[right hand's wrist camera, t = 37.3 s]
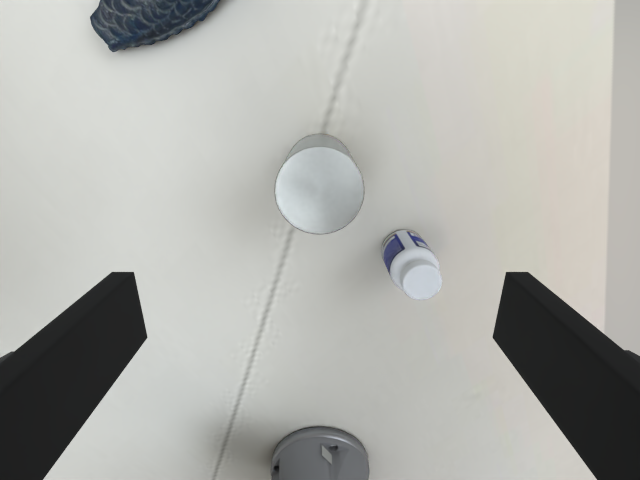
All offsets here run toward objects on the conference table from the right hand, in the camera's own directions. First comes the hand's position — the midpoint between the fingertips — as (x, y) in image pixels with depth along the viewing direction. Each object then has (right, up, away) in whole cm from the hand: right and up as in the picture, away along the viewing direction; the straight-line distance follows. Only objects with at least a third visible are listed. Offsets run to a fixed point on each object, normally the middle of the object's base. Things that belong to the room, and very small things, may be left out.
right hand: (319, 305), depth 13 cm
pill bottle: (+10, +1, +31) cm, 33 cm away
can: (0, +11, +28) cm, 30 cm away
